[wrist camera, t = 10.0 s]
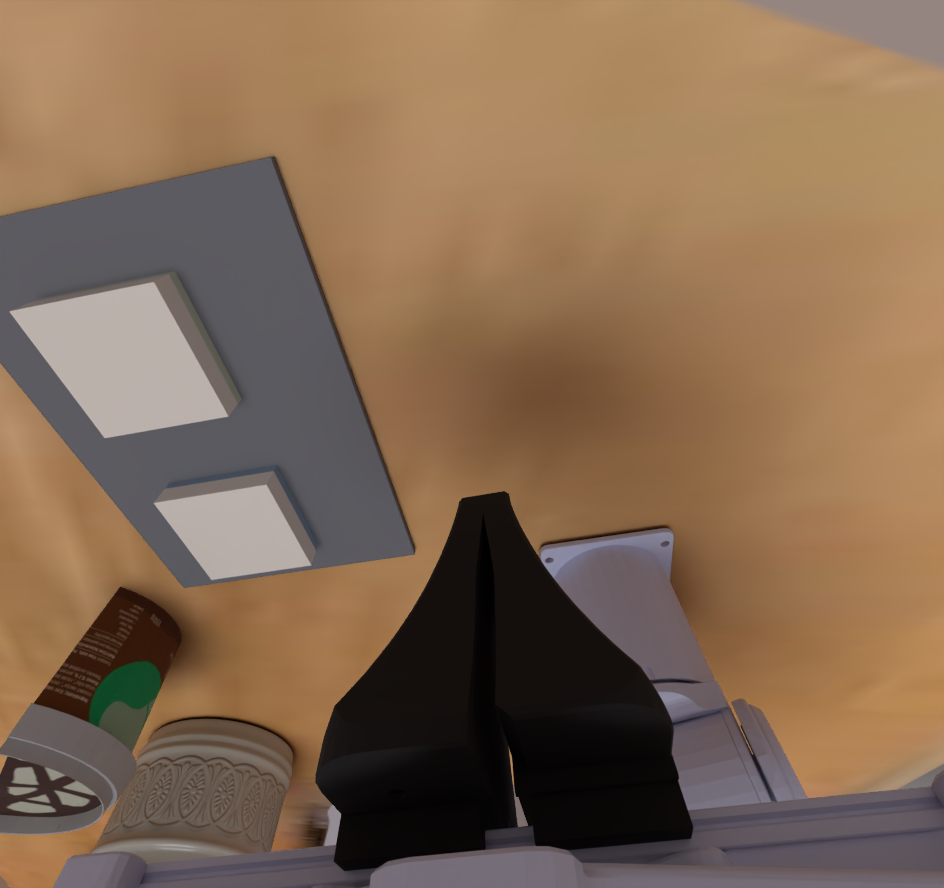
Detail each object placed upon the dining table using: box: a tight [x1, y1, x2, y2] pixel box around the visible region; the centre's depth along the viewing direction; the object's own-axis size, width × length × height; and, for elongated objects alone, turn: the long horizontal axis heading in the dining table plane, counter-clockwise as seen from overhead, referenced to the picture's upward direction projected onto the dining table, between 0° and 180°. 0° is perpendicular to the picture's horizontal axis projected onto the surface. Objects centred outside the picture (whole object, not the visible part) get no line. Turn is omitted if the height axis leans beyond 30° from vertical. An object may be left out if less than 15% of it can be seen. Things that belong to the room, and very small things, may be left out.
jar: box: [89, 719, 293, 864], centre depth 36 cm, size 13×13×18 cm
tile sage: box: [9, 271, 242, 438], centre depth 20 cm, size 6×2×6 cm
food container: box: [0, 587, 181, 835], centre depth 29 cm, size 12×6×10 cm, turn 145°
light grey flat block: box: [154, 465, 318, 580], centre depth 26 cm, size 6×2×6 cm
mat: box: [0, 157, 415, 588], centre depth 24 cm, size 21×15×1 cm
